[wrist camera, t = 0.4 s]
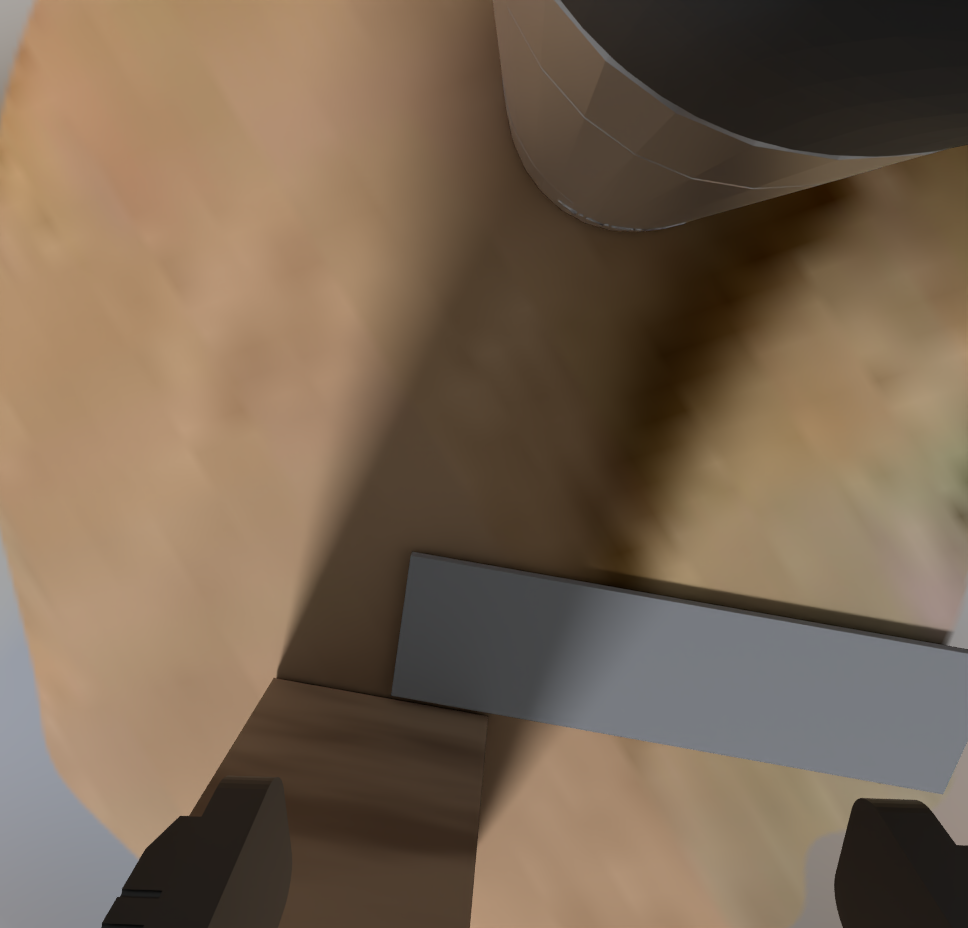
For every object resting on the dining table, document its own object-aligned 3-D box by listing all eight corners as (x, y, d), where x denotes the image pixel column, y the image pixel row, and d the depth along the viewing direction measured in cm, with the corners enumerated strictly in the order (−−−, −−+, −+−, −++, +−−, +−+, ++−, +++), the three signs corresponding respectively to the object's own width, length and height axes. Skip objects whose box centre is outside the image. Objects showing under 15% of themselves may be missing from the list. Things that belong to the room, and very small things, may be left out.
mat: (412, 551, 28) (410, 555, 27) (998, 654, 28) (1005, 660, 27) (392, 689, 30) (390, 695, 30) (937, 787, 30) (942, 794, 29)
